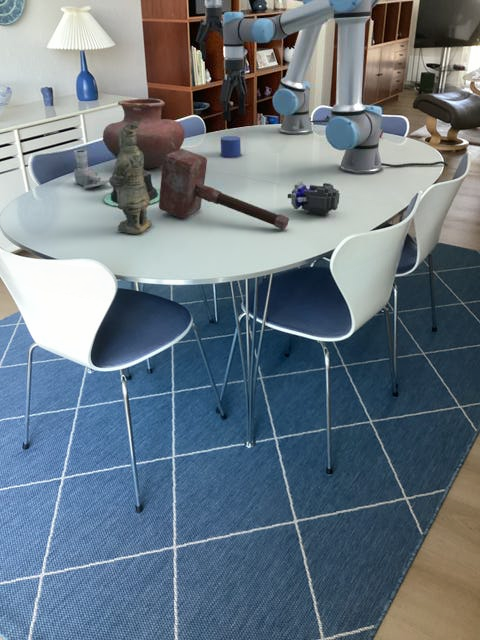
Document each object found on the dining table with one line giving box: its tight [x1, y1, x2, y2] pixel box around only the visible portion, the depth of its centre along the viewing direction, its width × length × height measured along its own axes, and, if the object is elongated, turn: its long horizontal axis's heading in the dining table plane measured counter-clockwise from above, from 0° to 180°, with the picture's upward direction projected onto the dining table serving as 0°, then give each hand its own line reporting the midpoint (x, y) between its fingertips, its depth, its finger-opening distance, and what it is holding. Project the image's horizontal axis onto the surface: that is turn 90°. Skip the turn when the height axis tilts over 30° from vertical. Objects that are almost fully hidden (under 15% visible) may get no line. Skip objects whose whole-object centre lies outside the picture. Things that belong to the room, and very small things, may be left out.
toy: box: [287, 180, 341, 216], centre depth 168 cm, size 9×9×15 cm
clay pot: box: [102, 98, 186, 169], centre depth 213 cm, size 30×30×25 cm
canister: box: [219, 135, 242, 159], centre depth 232 cm, size 8×8×7 cm
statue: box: [108, 121, 153, 235], centre depth 154 cm, size 11×9×30 cm
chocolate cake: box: [103, 168, 160, 207], centre depth 186 cm, size 15×19×20 cm
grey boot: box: [73, 148, 110, 189], centre depth 197 cm, size 9×12×15 cm
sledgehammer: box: [158, 148, 290, 231], centre depth 163 cm, size 17×10×40 cm
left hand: (215, 59), depth 256 cm, fingers open, 13 cm apart
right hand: (234, 117), depth 220 cm, fingers open, 13 cm apart
